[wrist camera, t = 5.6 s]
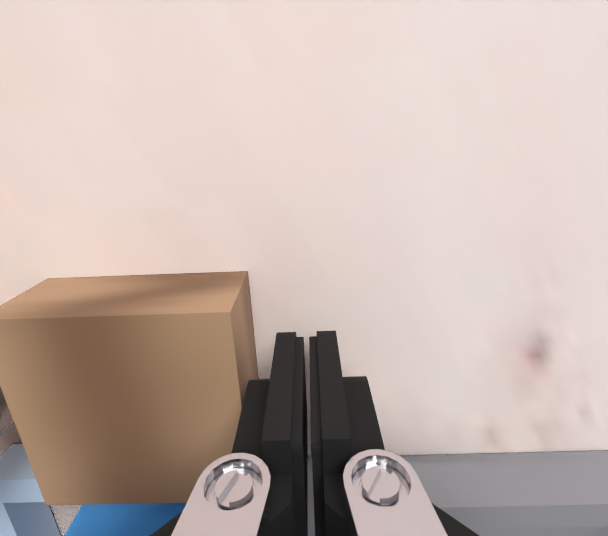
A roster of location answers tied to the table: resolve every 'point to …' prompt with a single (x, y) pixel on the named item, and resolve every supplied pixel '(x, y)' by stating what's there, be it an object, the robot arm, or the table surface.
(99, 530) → the perfume bottle
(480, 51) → the table surface
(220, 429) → the brown cardboard box
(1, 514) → the holder
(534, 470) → the tray
